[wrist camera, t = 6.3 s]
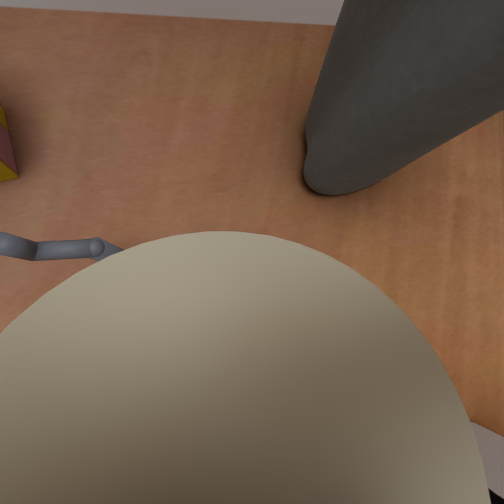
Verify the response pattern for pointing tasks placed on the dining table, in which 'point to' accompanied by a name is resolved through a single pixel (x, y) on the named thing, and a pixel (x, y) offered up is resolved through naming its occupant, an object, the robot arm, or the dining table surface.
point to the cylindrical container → (491, 457)
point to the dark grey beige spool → (228, 385)
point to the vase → (401, 86)
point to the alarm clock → (6, 152)
